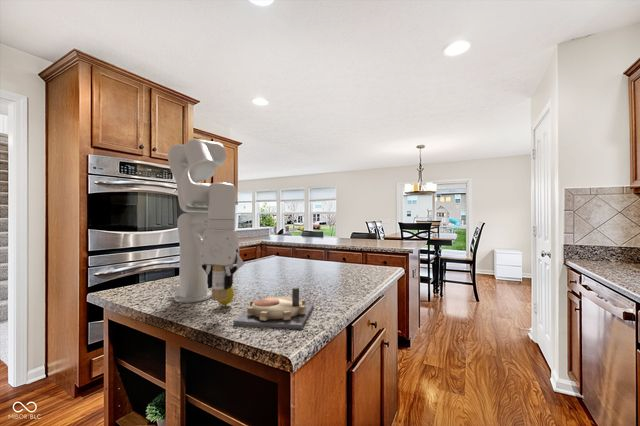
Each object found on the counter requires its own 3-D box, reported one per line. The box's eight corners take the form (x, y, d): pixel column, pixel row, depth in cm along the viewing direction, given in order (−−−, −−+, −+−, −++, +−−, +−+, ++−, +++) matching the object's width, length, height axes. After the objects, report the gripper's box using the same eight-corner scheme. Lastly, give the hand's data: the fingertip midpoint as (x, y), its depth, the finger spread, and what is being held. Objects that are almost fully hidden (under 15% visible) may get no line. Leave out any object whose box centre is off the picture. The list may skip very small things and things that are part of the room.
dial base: (233, 325, 76) (233, 320, 76) (258, 304, 95) (258, 300, 95) (301, 329, 73) (301, 324, 73) (313, 307, 92) (313, 303, 92)
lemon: (225, 309, 89) (225, 284, 89) (212, 307, 91) (212, 282, 92) (237, 304, 94) (237, 281, 94) (224, 302, 96) (224, 279, 97)
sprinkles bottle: (229, 296, 83) (231, 252, 83) (224, 301, 79) (225, 254, 79) (214, 296, 83) (215, 251, 83) (208, 301, 79) (209, 253, 79)
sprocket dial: (265, 299, 95) (265, 279, 95) (314, 304, 89) (314, 282, 90) (234, 316, 78) (235, 291, 78) (292, 324, 73) (292, 297, 73)
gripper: (187, 225, 79) (185, 289, 79) (243, 227, 76) (241, 293, 76) (202, 223, 86) (200, 282, 86) (253, 225, 83) (252, 286, 84)
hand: (219, 287), depth 81 cm, fingers closed on sprinkles bottle, 4 cm apart
